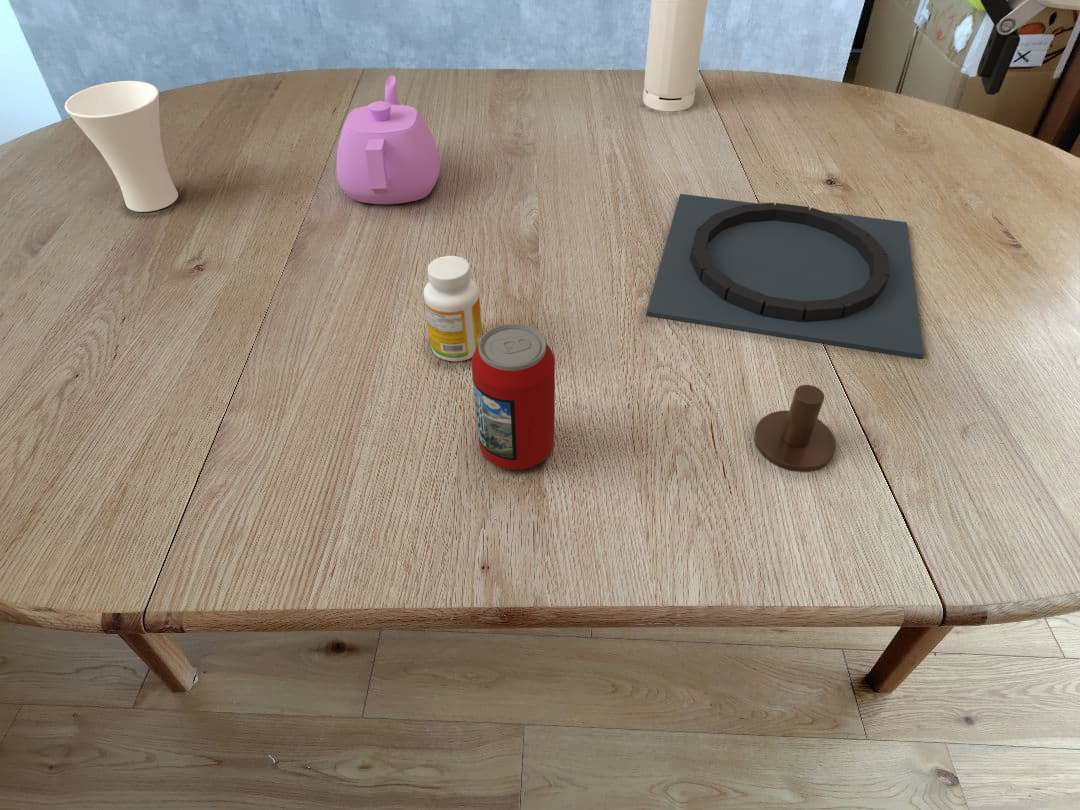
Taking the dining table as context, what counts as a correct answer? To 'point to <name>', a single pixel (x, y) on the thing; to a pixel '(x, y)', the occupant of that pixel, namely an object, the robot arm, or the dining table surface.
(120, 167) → the cup
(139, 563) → the dining table surface
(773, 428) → the brown peg stand
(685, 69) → the bottle
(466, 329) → the supplement bottle
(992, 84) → the robot arm
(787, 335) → the mat
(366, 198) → the teapot
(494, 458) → the beverage can
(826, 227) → the ring
